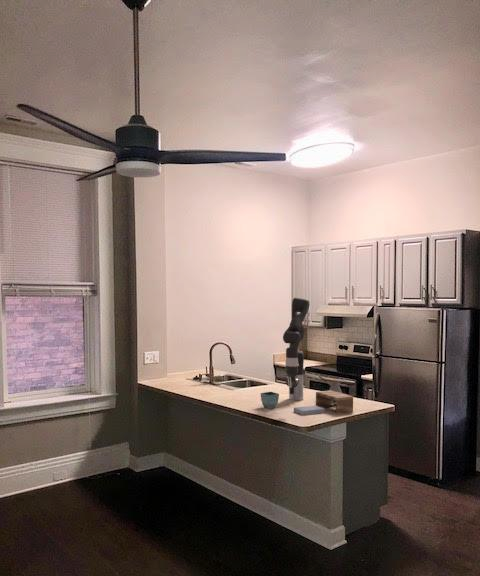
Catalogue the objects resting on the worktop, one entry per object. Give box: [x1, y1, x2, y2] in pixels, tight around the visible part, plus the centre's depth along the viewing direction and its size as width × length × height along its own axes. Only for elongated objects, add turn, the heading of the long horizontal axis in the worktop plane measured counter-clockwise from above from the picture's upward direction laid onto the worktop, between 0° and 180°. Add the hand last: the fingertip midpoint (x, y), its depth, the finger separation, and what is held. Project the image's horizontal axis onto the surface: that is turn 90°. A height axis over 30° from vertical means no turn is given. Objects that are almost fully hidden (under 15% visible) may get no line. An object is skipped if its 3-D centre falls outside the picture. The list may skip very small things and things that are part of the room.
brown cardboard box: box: [315, 389, 354, 415], centre depth 314 cm, size 22×12×10 cm, turn 28°
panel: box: [293, 404, 326, 416], centre depth 306 cm, size 10×16×3 cm, turn 115°
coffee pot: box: [317, 375, 343, 403], centre depth 344 cm, size 21×12×15 cm, turn 38°
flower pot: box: [259, 391, 280, 409], centre depth 318 cm, size 9×9×9 cm
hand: (291, 394), depth 300 cm, fingers closed
